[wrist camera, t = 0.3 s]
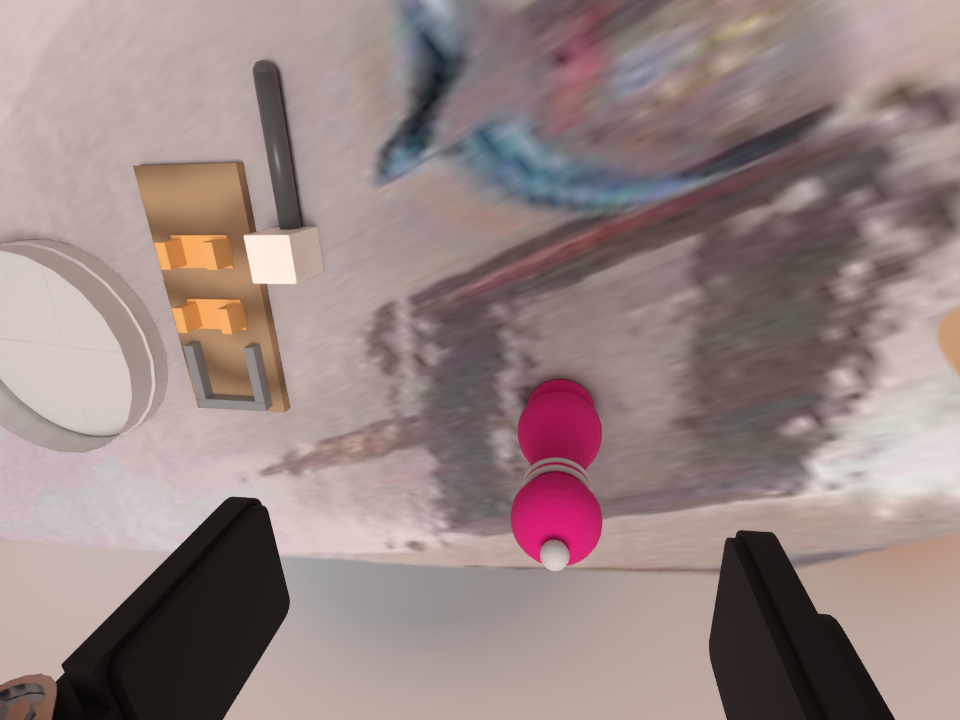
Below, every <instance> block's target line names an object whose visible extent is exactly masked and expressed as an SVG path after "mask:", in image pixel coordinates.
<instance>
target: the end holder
mask: <svg viewBox="0 0 960 720" xmlns="http://www.w3.org/2000/svg"><path fill="white" fill-rule="evenodd" d="M183 348H184V351H185V355H186V359H187V363H188V366H189V370H190V374H191V377H192V381H193V385H194V389H195V392H196V396H197V400H198V404H199V407H201V408H219V409H237V410H255V411H267V410H268V409H269V408H270V407H272V406H273V405H272V400H271V395H270V391H269V386H268V381H267V376H266V371H265V366H264V361H263V357H262V352H261V347H260V344H249V345H247V346H246V347H244V348H243V349H244V353H245V358H246V362H247V367H248V371H249V376H250V380H251V385H252V389H253V394H254V396H243V395H223V394H213V390H212V386H211V382H210V378H209V374H208V370H207V366H206V362H205V358H204V355H203V351H202V347H201V343H200V342H189V343H188V344H186V345H184V346H183Z"/></svg>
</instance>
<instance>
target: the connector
mask: <svg viewBox="0 0 960 720" xmlns="http://www.w3.org/2000/svg"><path fill="white" fill-rule="evenodd" d="M253 76H254V82H255V88H256V94H257V99H258V105H259V111H260V117H261V123H262V128H263V134H264V140H265V146H266V152H267V157H268V163H269V169H270V175H271V181H272V186H273V192H274V198H275V204H276V209H277V215H278V221H279V227H274V228H270V229H266V230H262V231H258V232H254V233H251V234H247V235H243V236H244V241H245V246H246V251H247V256H248V261H249V266H250V271H251V276H252V281H253V284H298V283H300V282H302V281H304V280H306V279H308V278H310V277H312V276H315V275H317V274H319V273H321V272H323V264H322V257H321V251H320V244H319V237H318V230H317V227H301V222H300V216H299V209H298V203H297V196H296V190H295V184H294V177H293V171H292V165H291V158H290V152H289V145H288V139H287V133H286V126H285V120H284V113H283V107H282V101H281V94H280V88H279V82H278V75H277V71H276V69H275V67H274V66H273V65H272V64H271V63H270V62H268V61H265V60H261V61H258V62H256V63H255V65H254V67H253Z"/></svg>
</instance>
